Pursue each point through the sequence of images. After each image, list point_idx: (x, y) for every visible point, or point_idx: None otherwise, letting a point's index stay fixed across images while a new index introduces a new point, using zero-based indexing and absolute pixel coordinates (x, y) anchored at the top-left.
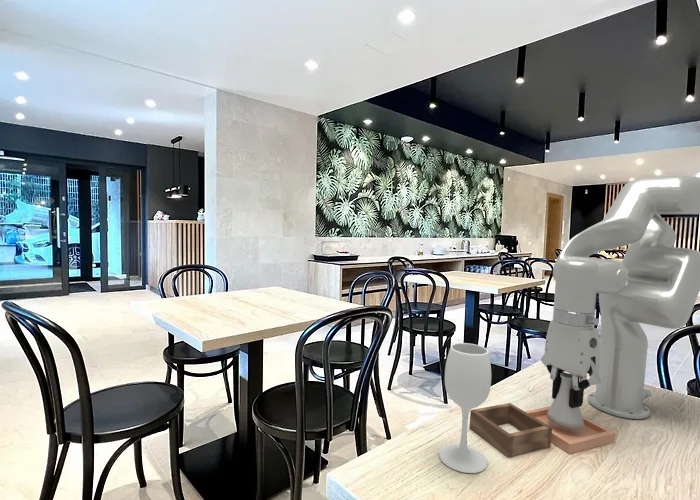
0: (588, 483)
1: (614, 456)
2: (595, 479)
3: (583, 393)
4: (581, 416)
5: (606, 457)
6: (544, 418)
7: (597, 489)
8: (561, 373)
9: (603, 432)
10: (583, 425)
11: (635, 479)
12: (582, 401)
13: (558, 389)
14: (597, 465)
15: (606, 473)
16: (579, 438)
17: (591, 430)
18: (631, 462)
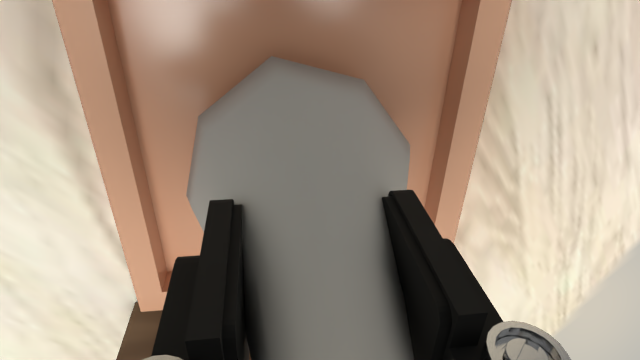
0: (535, 308)
1: (536, 98)
2: (541, 280)
3: (490, 304)
4: (390, 149)
5: (517, 141)
6: (179, 174)
7: (561, 306)
8: None
9: (474, 37)
10: (409, 150)
11: (633, 166)
12: (455, 254)
13: (245, 334)
14: (517, 219)
15: (554, 228)
16: (438, 221)
17: (378, 14)
18: (601, 67)
